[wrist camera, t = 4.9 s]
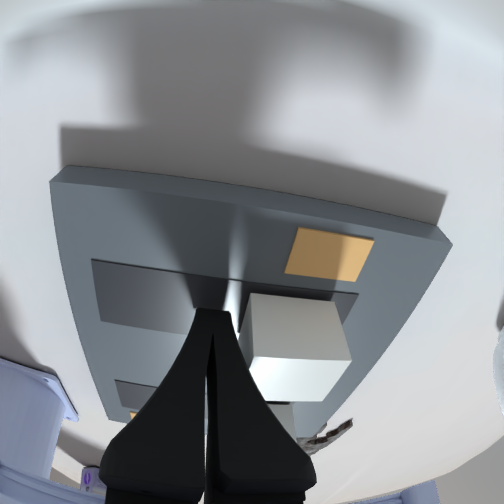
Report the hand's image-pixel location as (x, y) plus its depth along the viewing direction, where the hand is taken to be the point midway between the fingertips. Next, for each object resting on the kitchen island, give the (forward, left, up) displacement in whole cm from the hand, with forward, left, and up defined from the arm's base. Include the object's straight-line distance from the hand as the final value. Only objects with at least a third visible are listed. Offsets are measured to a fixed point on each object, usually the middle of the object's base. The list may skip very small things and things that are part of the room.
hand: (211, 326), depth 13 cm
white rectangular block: (+3, 0, -1) cm, 3 cm away
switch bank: (+1, -5, -2) cm, 5 cm away
